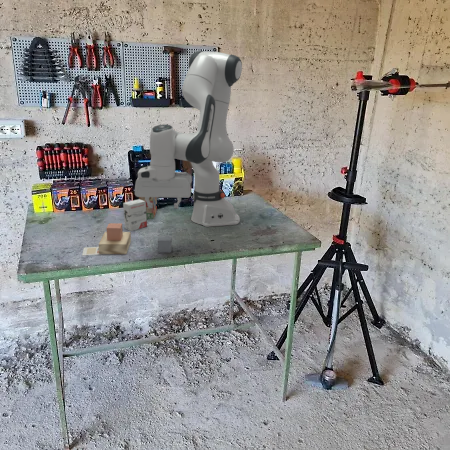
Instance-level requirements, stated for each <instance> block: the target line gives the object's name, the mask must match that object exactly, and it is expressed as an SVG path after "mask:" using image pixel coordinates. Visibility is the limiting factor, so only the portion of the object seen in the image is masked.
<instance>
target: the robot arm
mask: <svg viewBox="0 0 450 450" xmlns="http://www.w3.org/2000/svg"><path fill="white" fill-rule="evenodd" d="M242 72H243V62H242V60H241V58H240V57H239V56H238V55H235V54H229V53H224V52H220V51H203V50H198V51H194V52H193V53H192V54H191V55H190V57H189V60H188V70H187V73H186V75H185V78H184V80H183V84H182V88H181V92H182V96H183V98H184V100H185V101H186V102H187V103H188V104H189V105H190V106H191V107H193V108H195V109H196V110H198V111H199V118H198V120H199V121H198V125H197V130H196V132H190V133H185V132H184V133H182V132H179V131H177V130H175V129H174V127H173V125H171V124H158V125H155V126H154V127H152V129H151V130H150V136H149V153H150V158H151V159H150V161H149V165H148V166H145V167H141V168H140V169H138V171H137V179H136V180H135V185H134V195H135V197H136V198H139V197H145V201H146V202H147V204H148V208H149V209H150V208H153V203H150V201H149V197H158V198H174V199H175V198H176V199H177V202H174V203H173V206H174V207H173V209H174V210H175V209H176V210H178V209H179V205H180V203H181V201H182V198H184V199H186V198H187V199H189V198H190V197H191V194H192V191H191V189H192V188H191V184H192V182H193V176H194V189H193V194H192V195H193V197H192V199H193V210H192V214H191V217H190V219H191V221H192V222H193V223H195V224H198V225H202V226H203V227H206V228H208V227H209V228H210V227H221V226H235V225H239V223H240V222H241V218H240V216H239V214H237V213H236V210H235V207H234V205H233V204H232V203H231V202H230V201H228V200H227V199H226V198H225V197H226V194H225V193H224V191H223V190H222V189H220V172H219V171H218V169H217V168H216V167H215V166H214V163H226V162H229V160H231V159H232V157H233V155H234V148H235V147H234V144H233V142H232V141H231V139H230V137H229V135H228V130H227V119H228V112H229V107H230V102H231V93H232V86H233V85H234V84H236V83H237V82H238V81H239V80H240V79H241V77H242ZM175 159H177V160H180V161H184V162H185V161H186V162H190V164H191V166H192V169H193V173H194V175H193V176H192V175H191V173H189V172H186V171H184V172H183V171H182V172H181V171H176V160H175ZM213 162H214V163H213Z"/></svg>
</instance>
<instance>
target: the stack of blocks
mask: <svg viewBox="0 0 450 450" xmlns="http://www.w3.org/2000/svg"><path fill="white" fill-rule="evenodd" d="M138 199H140V200H143V201H145V197H138ZM157 200H158V201H159V197H149V201H150V203H153V208H150V209H149V208H148V204H147V202H146V201H145V202H146V216H147V220H154V219H155V217H156V213H157V210H158V208H157V206H156V204H157Z"/></svg>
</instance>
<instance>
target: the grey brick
mask: <svg viewBox="0 0 450 450" xmlns="http://www.w3.org/2000/svg"><path fill="white" fill-rule="evenodd" d="M172 243H173V242H172V235H170V234H169V235H157V253H172V250H173V249H172V247H173V246H172V245H173V244H172Z"/></svg>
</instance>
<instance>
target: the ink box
mask: <svg viewBox="0 0 450 450" xmlns="http://www.w3.org/2000/svg"><path fill="white" fill-rule="evenodd" d="M122 204H123V205H122V208H123V217H124V218H123V220H124V221H123V223H124V229H125V230H127V231H128V232H132V231H137V230H139V229H140V230H141V229H143V228H147V227H148V221H147V220H148V219H147V216H146V202H145V201H143V200H140V199H139V198H138V199H134V200H131V201H126V202H123V203H122Z"/></svg>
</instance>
